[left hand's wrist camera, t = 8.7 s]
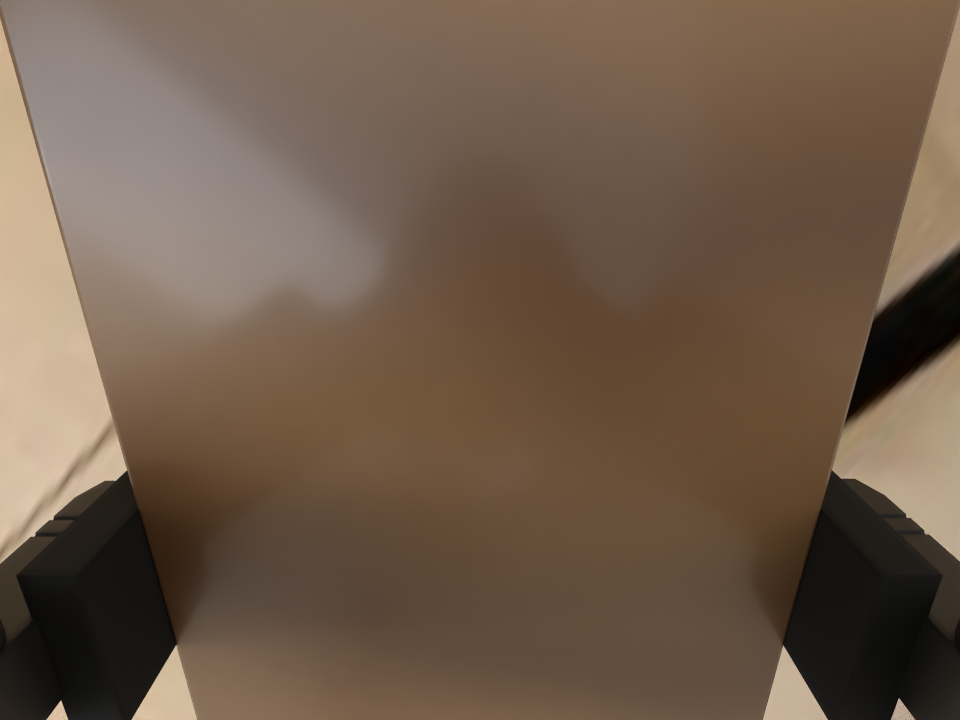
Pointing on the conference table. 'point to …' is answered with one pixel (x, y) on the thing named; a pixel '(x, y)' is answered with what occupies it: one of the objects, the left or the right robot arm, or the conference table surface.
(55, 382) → the conference table surface
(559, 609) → the cabinet
